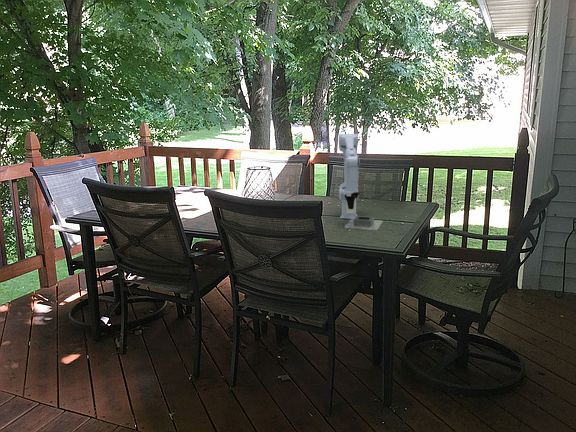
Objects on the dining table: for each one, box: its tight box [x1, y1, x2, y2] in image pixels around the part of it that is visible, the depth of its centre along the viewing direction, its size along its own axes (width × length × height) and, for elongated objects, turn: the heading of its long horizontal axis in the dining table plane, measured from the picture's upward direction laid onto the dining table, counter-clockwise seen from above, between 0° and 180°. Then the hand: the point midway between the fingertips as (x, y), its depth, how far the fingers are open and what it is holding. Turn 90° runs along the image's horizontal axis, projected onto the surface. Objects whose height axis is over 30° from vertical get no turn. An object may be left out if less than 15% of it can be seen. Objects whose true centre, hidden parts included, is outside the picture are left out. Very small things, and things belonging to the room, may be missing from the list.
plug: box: [346, 198, 357, 213], centre depth 250 cm, size 4×4×7 cm
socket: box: [344, 215, 383, 231], centre depth 252 cm, size 16×16×4 cm
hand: (351, 208), depth 250 cm, fingers closed on plug, 4 cm apart
